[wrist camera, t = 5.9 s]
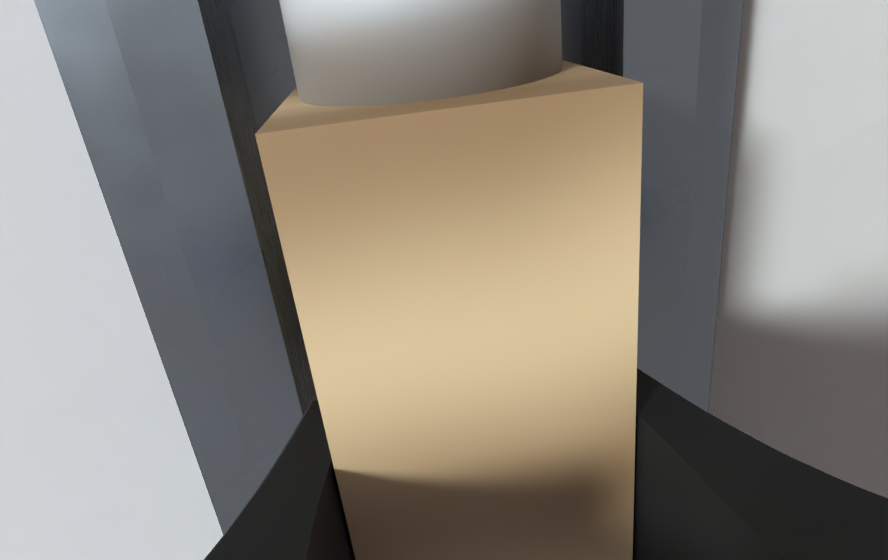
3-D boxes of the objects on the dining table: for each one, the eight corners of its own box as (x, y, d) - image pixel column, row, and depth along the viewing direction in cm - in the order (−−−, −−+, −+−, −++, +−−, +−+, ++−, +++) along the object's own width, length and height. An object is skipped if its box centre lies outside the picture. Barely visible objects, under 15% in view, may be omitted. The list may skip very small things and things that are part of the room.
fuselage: (553, 543, 16) (663, 860, 10) (399, 570, 16) (418, 911, 10) (522, -79, 10) (738, -195, 4) (276, -50, 10) (143, -132, 4)
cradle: (677, 554, 18) (731, 649, 16) (272, 625, 18) (255, 738, 15) (727, -180, 11) (847, -242, 8) (26, -105, 10) (-97, -143, 7)
